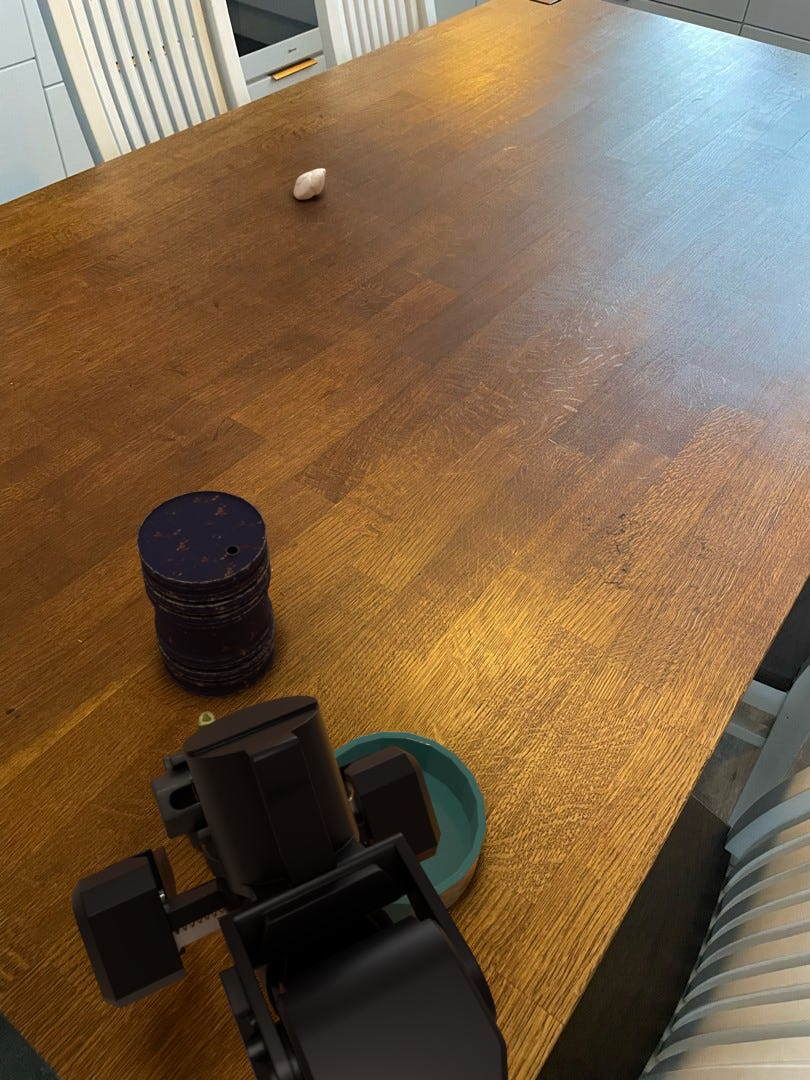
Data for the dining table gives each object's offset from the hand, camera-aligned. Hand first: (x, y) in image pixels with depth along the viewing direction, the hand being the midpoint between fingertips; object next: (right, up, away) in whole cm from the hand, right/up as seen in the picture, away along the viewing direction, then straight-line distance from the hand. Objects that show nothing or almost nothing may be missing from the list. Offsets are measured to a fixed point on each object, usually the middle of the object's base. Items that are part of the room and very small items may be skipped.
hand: (236, 822), depth 55 cm
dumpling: (-4, +71, +83) cm, 109 cm away
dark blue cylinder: (-6, +7, +24) cm, 26 cm away
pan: (+9, -5, +13) cm, 17 cm away
